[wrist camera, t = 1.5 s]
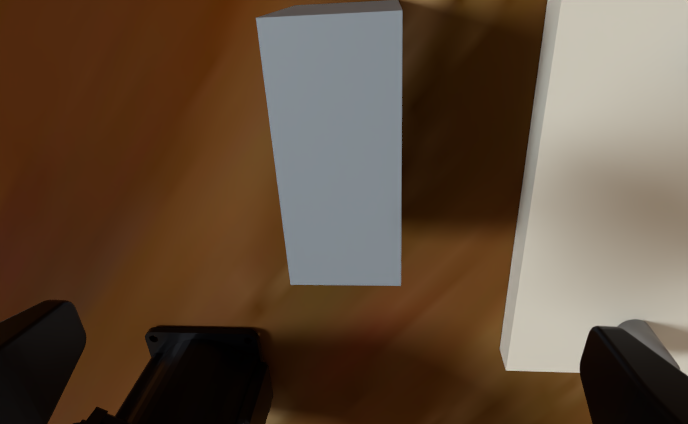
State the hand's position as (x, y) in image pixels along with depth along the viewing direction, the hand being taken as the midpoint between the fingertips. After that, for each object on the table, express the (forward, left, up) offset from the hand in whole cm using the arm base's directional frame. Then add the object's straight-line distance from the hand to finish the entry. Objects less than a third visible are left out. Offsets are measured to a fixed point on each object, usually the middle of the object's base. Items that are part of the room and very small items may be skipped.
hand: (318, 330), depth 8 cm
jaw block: (0, 0, -13) cm, 13 cm away
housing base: (+13, -4, -13) cm, 19 cm away
